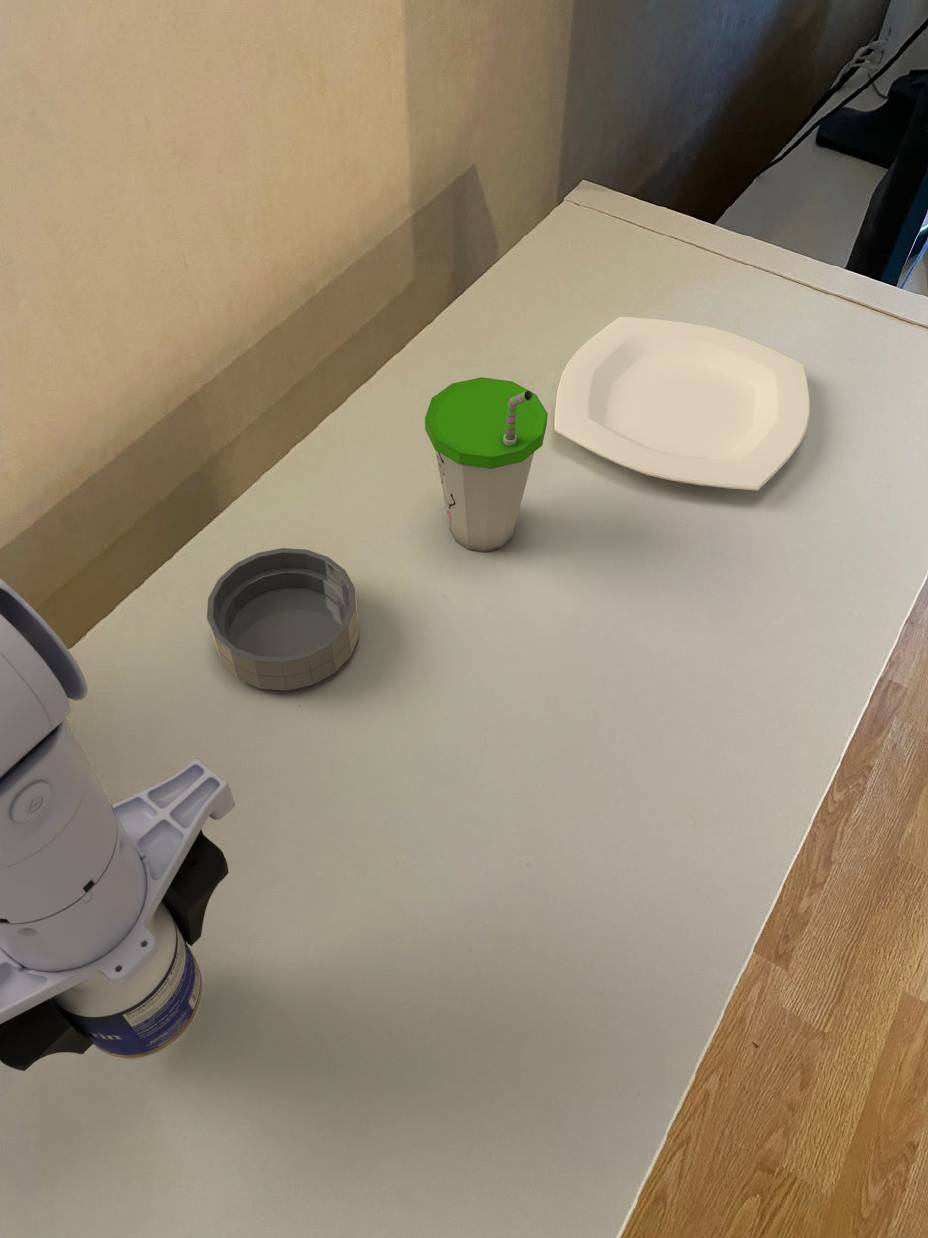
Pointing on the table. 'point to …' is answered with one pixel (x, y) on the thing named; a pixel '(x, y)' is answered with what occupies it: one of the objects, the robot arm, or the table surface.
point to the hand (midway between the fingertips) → (128, 980)
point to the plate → (684, 403)
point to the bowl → (284, 618)
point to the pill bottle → (140, 999)
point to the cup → (484, 455)
